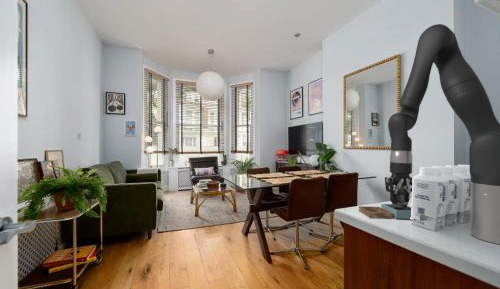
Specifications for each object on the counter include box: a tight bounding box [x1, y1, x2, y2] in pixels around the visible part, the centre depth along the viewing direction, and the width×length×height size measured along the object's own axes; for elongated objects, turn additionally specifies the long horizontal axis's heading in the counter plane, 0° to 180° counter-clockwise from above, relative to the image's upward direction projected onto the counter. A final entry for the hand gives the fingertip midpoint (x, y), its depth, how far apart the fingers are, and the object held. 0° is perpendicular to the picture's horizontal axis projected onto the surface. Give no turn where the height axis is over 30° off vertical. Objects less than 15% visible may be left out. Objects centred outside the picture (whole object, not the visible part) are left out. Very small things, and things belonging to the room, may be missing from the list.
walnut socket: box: [358, 205, 394, 220], centre depth 86 cm, size 9×9×2 cm
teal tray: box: [380, 203, 412, 221], centre depth 86 cm, size 10×10×4 cm
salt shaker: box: [391, 186, 409, 210], centre depth 86 cm, size 6×6×12 cm
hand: (399, 202), depth 86 cm, fingers closed on salt shaker, 6 cm apart
